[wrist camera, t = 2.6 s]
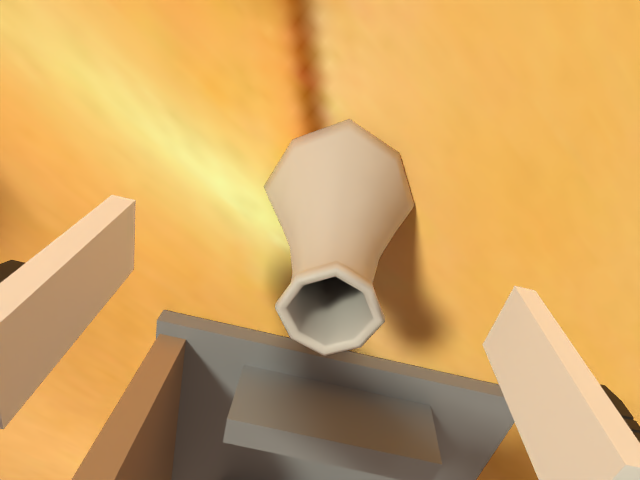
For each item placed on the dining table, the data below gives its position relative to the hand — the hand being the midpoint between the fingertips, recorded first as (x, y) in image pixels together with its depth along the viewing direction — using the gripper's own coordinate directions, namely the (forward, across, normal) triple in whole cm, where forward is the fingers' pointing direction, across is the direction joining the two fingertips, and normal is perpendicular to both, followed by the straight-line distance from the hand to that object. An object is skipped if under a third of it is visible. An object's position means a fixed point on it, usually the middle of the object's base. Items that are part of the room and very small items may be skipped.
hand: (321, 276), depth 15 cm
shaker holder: (+8, -4, +19) cm, 21 cm away
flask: (+8, -1, 0) cm, 8 cm away
